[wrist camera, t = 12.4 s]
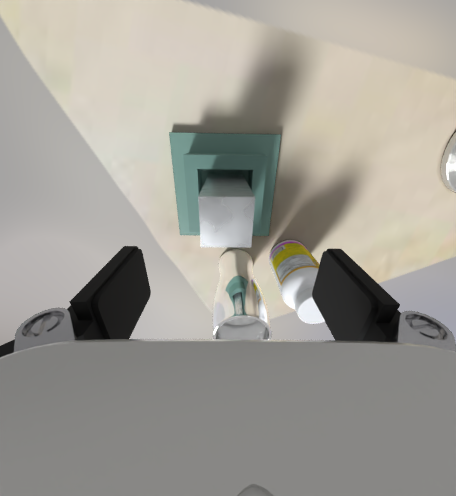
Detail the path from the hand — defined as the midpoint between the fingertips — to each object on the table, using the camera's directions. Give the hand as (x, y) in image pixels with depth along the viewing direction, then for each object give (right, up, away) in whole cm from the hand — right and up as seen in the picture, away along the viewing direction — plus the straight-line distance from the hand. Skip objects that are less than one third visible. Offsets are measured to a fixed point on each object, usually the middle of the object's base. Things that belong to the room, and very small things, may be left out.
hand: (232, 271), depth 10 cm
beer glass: (+1, -2, +25) cm, 25 cm away
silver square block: (-1, +9, +18) cm, 20 cm away
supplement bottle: (+10, 0, +24) cm, 26 cm away
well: (-1, +10, +19) cm, 21 cm away
